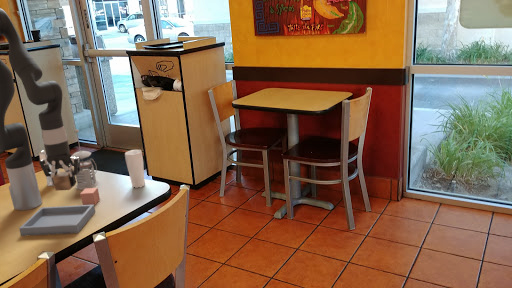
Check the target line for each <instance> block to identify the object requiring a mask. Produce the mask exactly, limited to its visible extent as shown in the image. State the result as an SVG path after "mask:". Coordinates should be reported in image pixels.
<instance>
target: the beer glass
mask: <svg viewBox="0 0 512 288" xmlns="http://www.w3.org/2000/svg"><path fill="white" fill-rule="evenodd" d="M38 154H39V162H40V161H41V160H42V159H47V155H46V151H45V149H44V150H41V151H40V152H38ZM48 165H49V167H50V170H51V167H52V165H51V164H49V163H48ZM58 172H60V169H58ZM58 172H57V173H58ZM45 177H46V186H47V187H55V186H54V185H53V181H52V178H51V177H49V176H48V177H47V176H45Z"/></svg>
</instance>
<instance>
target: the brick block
mask: <svg viewBox="0 0 512 288" xmlns="http://www.w3.org/2000/svg"><path fill="white" fill-rule="evenodd" d="M79 195H80V199H81V205H94V206H96V204H97V203H98V202H99V201H100V200H101V198H100V193H99V188H98V187H93V188H86V189H83V190H81V192H80V194H79Z"/></svg>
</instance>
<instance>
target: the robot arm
mask: <svg viewBox="0 0 512 288" xmlns="http://www.w3.org/2000/svg"><path fill="white" fill-rule="evenodd" d="M7 13H8V12H6V11H5V10H4V9H2V8H1V7H0V36H3V37H4V38H5V40H6V41H7V42H8V60H9V64H10V66H11V68H12V70H13V71H14V72H15V73H16V74H17V76H18V77H19V79H20V80H21V83H22V85H23V88H24V91H25V94H26V96H27V99H28V101H30V103H32V104H33V105H36V106H43V105H45V104H46V105H47V106H46V108H45V109H44V110H42V111H40V112H39V113H38V121H39V124H40V125H39V126H40V130H41V137H42V138H41V139H42V142H43V146H44V147H43V148H44V150H45V151H46V155H47V159H42V160H41V161H40V160H39V161H38V163H39V165H40V167H41V169H42V171H43V173H44V176H45V177H46V176H47V177H48V176H49V177H51V178H52V181H53V177H54V176H55V175H56V174H57V172H58V169H59V170H60V169H63V170H64V172H67V173H68V175H69V176H70V177H69V180H70V184H71V187H72V188H73V187H74V186H76V185H77V180H76V176H75V175H77V174H78V173H79V172H80V162H81V159H80V157H77V158H76V157H72V154H71V152H70V151H71V149H70V146H69V145H70V144H69V141H68V136H67V132H66V128H65V127H64V120H63V116H62V110H63V109H62V107H63V106H62V105H63V89H62V87H61V85H60V84H59V83H58V82H57V81H55V80H46V81H42V82H38V81H40V80H41V79H42V78H43V70H42V68H40V66H39V65H38V64H37V62H36V61H35V60H34V58H33V57H32V56H31V54H30V53H29V51H28V49H27V48H26V46H25V44H24V43H23V41H22V39H21V37H20V35H19V32H18V31H17V29H16V27H15V25H14V23H13V21H12V20H11V18H10V17H9V14H7ZM15 87H16V86H15V81H14V77H13V73H12V71H11V69H10V67H8V66H7V64H6V63H5V62H4V61H3V60H2V59H1V58H0V152H6V151H10V150H11V151H12V150H14V149H16V150H15V151H13V152H14V153H12V154H10V156H8V157H7V158H6V159H5V160H4V165H5V169H6V173H7V176H8V177H7V178H8V180H9V184H10V185H9V186H8V191H9V195H10V197H11V202H12V206H13V209H14V210H18V211H28V210H33V209H35V208H38V207H40V206H41V205H42V204H43V200H42V196H41V193H40V189H39V187H40V186H39V184H38V179H37V175H36V171H35V167H34V163H33V158H32V151H31V145H30V141H29V140H30V139H29V135H28V132H27V129H26V126H24V124H23V123H22V122H14V123H13V122H12V123H8V124H5V117H6V113H7V112H8V109H9V107H10V105H11V102H12V100H13V97H14V96H15V91H16V90H15ZM71 161H72V164H71ZM48 163H49V164H51V165H52V167H51V170H50V167H49V165H48ZM53 185H54V182H53Z"/></svg>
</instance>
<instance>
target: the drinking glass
mask: <svg viewBox="0 0 512 288" xmlns="http://www.w3.org/2000/svg"><path fill="white" fill-rule="evenodd" d="M124 157H125V158H124V159H125V162H126V167H127V171H128V174H129V178H130V183H131V186H132V187H133V188H134V187H135V188H134V189H139V188H138V187H140V188H143V187H144V186H145V185H146V182H145V169H144V159H143V153H142V150H141V149H131V150H128V151H126V152H125V153H124ZM142 186H143V187H142Z"/></svg>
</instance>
